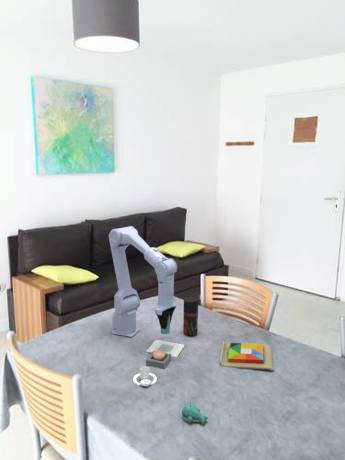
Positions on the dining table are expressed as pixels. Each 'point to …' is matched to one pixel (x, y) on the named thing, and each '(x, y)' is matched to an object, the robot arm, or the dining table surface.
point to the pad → (166, 347)
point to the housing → (156, 363)
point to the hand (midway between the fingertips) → (165, 326)
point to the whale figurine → (193, 414)
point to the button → (159, 355)
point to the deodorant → (190, 316)
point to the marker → (167, 330)
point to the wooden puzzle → (246, 356)
